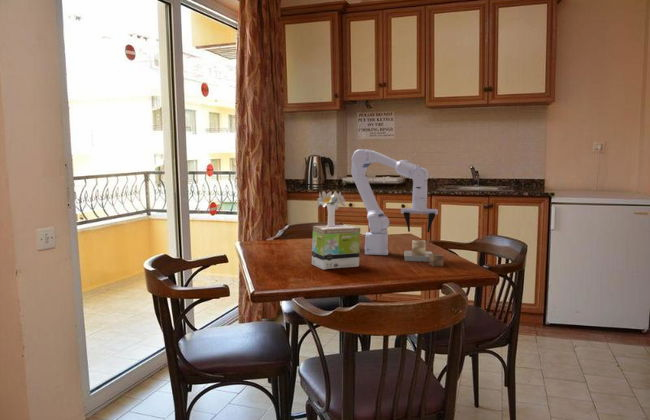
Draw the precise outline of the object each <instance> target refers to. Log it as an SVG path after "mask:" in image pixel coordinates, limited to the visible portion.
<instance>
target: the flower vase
mask: <svg viewBox="0 0 650 420" xmlns="http://www.w3.org/2000/svg"><path fill="white" fill-rule="evenodd" d="M318 194H319V196H318V198H317V199H316V202H317V204H316V208H315V209H318V207H319V206H322V208H325V207H326V208H327V209H326V210H327V225H336V222H335V221H336V219H335V218H336V217H335V216H336V215H335V214H336V213H335V212H336V210H338V209H339V205H341V206H342V207H344V208H346V205H345V202H346V199H345V197H344V196H343V195H342V192H341V191H339V192H337V191H334V192H333V194H332V191H329V192H327V193H326V192H325V190H324V191H322V192H319V193H318Z"/></svg>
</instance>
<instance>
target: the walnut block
mask: <svg viewBox="0 0 650 420" xmlns="http://www.w3.org/2000/svg"><path fill="white" fill-rule="evenodd" d="M428 265H430V266H431V265H432V266H431V267H444V255H443V254H441V253H432V254H429V262H428Z"/></svg>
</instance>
